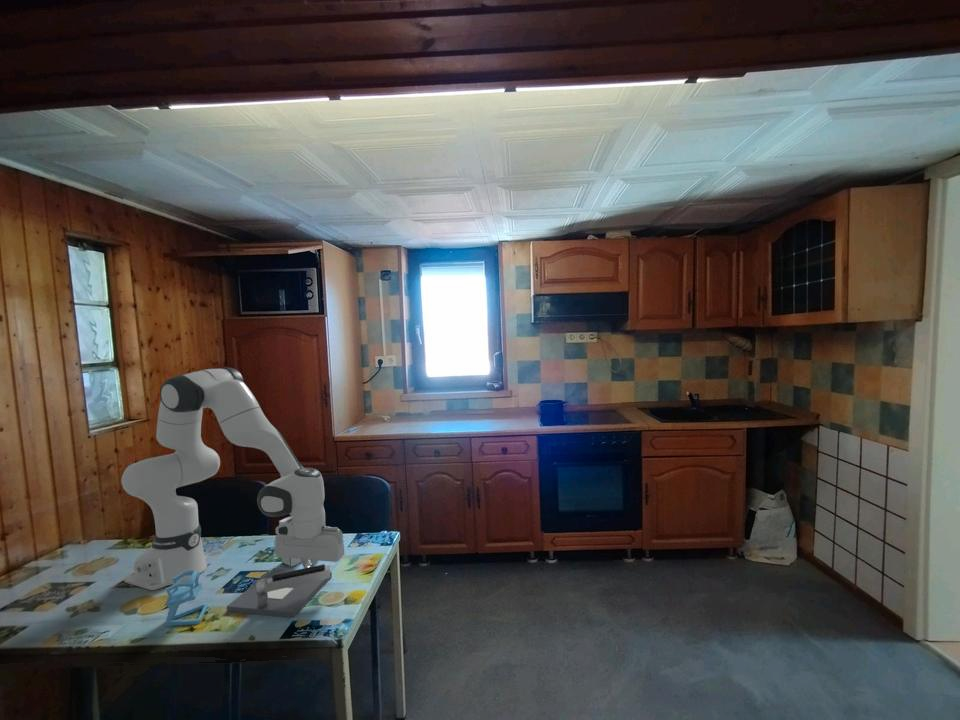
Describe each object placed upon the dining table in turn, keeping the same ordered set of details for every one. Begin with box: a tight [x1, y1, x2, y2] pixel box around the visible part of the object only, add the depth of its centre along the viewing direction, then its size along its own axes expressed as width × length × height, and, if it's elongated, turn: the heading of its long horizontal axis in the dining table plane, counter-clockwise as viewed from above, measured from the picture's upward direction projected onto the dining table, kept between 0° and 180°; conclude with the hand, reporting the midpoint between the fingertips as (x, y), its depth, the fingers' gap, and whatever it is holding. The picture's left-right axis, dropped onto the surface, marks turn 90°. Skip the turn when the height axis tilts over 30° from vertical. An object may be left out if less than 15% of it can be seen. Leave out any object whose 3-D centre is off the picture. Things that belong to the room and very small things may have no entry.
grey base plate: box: [226, 567, 333, 619], centre depth 117 cm, size 20×19×5 cm
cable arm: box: [255, 563, 331, 595], centre depth 112 cm, size 3×19×4 cm, turn 111°
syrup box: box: [278, 515, 301, 568], centre depth 135 cm, size 6×6×14 cm
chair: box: [164, 571, 208, 627], centre depth 107 cm, size 8×8×12 cm
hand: (310, 572), depth 116 cm, fingers closed
